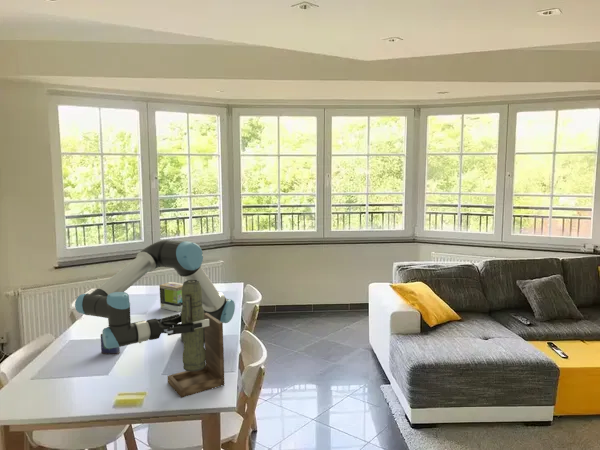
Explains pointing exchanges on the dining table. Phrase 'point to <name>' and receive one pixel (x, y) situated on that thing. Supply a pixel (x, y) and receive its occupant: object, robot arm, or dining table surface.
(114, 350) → the flask
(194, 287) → the thermos
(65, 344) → the dining table surface
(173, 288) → the tea box
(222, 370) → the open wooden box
